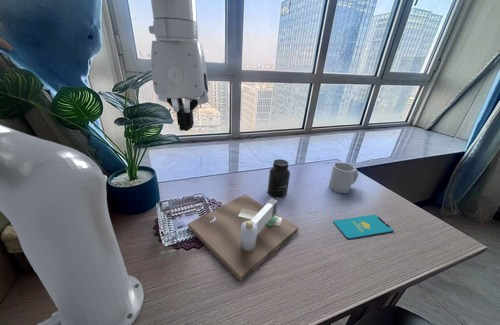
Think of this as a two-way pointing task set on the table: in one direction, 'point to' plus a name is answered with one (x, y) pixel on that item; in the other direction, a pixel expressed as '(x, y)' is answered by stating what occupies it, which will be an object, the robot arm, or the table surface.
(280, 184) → the supplement bottle
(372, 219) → the smartphone
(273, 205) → the tuning lever
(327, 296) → the table surface
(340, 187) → the cup
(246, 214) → the board
